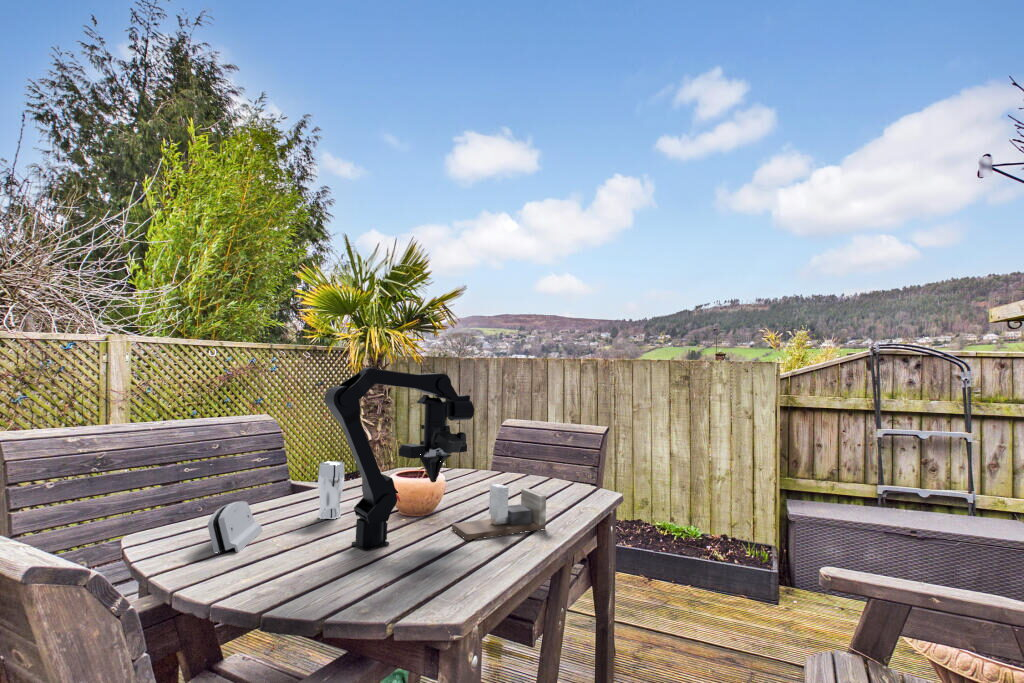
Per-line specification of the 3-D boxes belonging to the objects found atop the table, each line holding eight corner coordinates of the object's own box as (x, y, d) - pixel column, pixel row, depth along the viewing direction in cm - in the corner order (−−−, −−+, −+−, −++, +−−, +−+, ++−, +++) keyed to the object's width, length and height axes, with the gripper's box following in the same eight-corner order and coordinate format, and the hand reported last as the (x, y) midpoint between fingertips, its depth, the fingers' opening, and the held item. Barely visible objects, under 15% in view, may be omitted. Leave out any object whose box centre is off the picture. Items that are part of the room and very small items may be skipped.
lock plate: (466, 540, 126) (468, 503, 126) (451, 529, 135) (453, 494, 135) (545, 529, 137) (546, 495, 137) (526, 520, 146) (527, 488, 146)
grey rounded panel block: (238, 553, 112) (224, 510, 113) (216, 561, 112) (202, 517, 112) (263, 530, 129) (251, 492, 129) (244, 537, 128) (232, 499, 128)
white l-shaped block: (497, 526, 133) (498, 488, 133) (488, 521, 137) (490, 484, 138) (530, 521, 137) (531, 485, 138) (521, 517, 142) (522, 481, 143)
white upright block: (337, 521, 139) (339, 465, 140) (311, 520, 139) (314, 464, 140) (345, 514, 146) (348, 461, 147) (321, 513, 146) (324, 460, 147)
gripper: (427, 426, 120) (424, 493, 119) (482, 422, 134) (480, 482, 133) (398, 422, 127) (396, 485, 126) (454, 418, 141) (452, 475, 140)
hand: (433, 482), depth 131 cm, fingers closed
